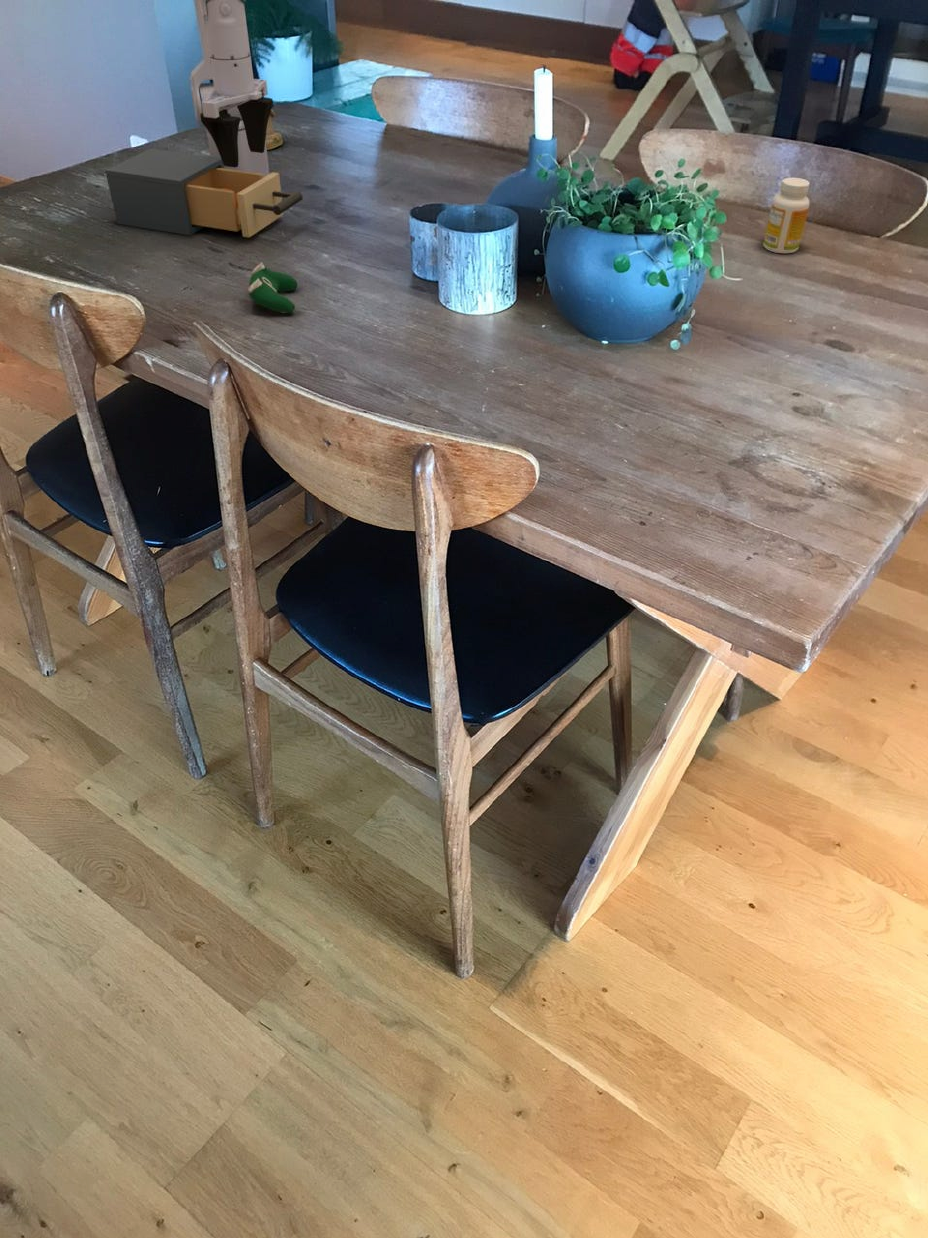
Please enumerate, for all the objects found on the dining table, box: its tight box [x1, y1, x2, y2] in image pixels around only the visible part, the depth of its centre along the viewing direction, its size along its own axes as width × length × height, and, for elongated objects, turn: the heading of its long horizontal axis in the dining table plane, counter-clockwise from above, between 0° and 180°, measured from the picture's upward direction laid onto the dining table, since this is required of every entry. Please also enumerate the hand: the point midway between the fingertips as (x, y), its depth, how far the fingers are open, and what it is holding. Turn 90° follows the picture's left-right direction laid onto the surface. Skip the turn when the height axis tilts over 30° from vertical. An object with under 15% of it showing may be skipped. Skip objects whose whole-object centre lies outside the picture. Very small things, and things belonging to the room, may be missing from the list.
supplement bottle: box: [762, 177, 811, 254], centre depth 140 cm, size 5×5×10 cm
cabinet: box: [104, 148, 224, 236], centre depth 148 cm, size 14×12×8 cm
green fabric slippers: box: [247, 261, 298, 315], centre depth 126 cm, size 9×4×6 cm
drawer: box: [184, 167, 303, 238], centre depth 145 cm, size 17×11×6 cm, turn 69°
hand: (244, 158), depth 140 cm, fingers open, 7 cm apart
